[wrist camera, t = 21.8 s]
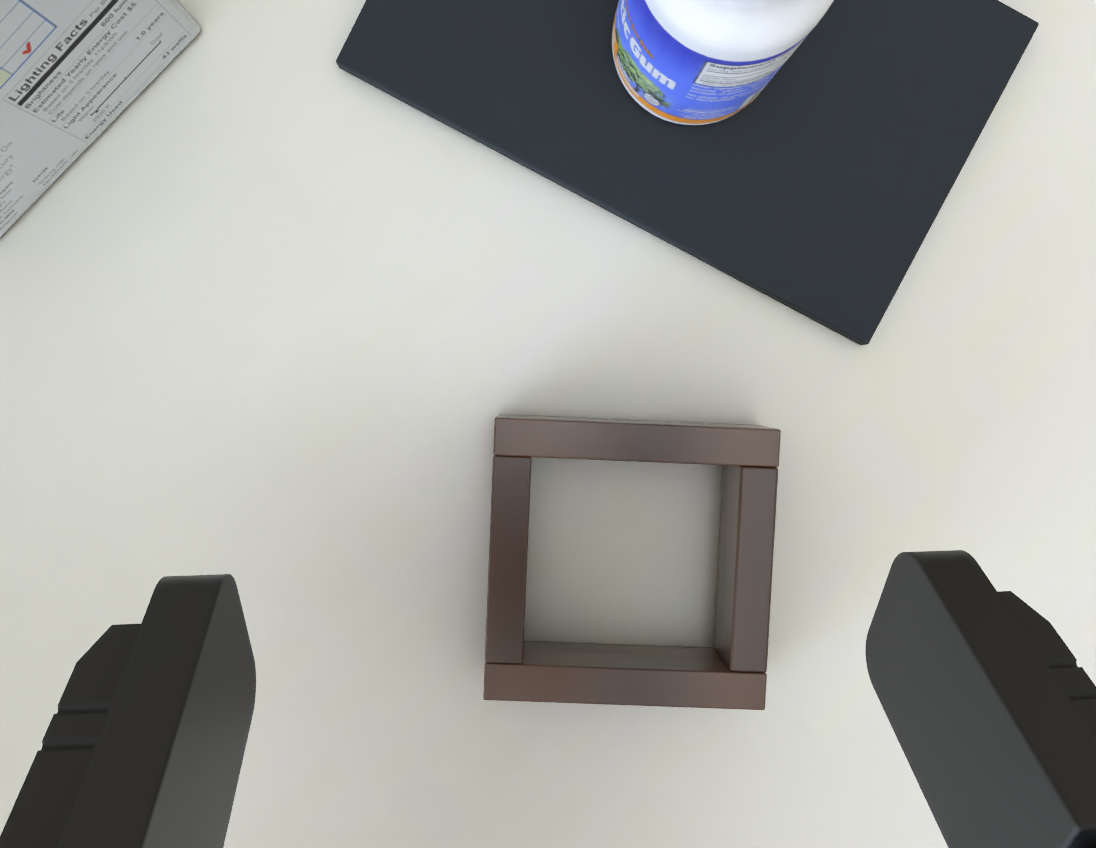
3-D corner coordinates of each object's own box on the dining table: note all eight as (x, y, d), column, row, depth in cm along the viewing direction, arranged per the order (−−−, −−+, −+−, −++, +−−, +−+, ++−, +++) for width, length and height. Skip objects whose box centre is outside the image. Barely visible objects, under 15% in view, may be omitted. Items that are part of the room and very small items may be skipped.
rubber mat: (338, 68, 30) (334, 61, 29) (504, -261, 29) (503, -275, 28) (861, 345, 30) (868, 345, 30) (1030, 30, 30) (1040, 22, 29)
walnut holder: (487, 673, 31) (483, 700, 28) (497, 414, 30) (494, 417, 28) (745, 682, 31) (765, 710, 28) (759, 425, 30) (781, 429, 28)
